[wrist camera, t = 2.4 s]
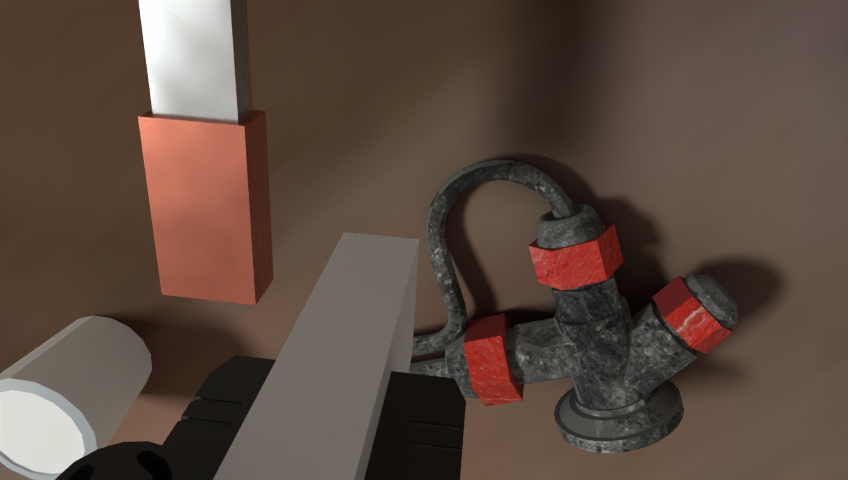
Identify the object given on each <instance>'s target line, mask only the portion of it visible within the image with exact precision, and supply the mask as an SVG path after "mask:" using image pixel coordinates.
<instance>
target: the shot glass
mask: <svg viewBox="0 0 848 480" xmlns="http://www.w3.org/2000/svg"><path fill="white" fill-rule="evenodd" d="M151 371H152V362H151V354H150V352H149V350H148V349H147V347H146V345H145V343H144V341H143V340H142V339H141V338H140V337H139V336H138V335H137V334H136V333H135V332H134V331H133V330H132V329H131V328H130V327H128V326H126V325H124V324H122V323H120V322H118V321H116V320H114V319H112V318H107V317H100V316H89V317H85V318H81V319H78V320H76V321H75V322H73V323H72V324H70V325H69V326H68V327H66V328H65V329H63V330H62V331H60V332H59V333H58V334H56V335H55V336H53V337H52V338H50V339H49V340H48V341H46V342H45V343H43V344H42V345H41V346H39V347H38V348H36V349H35V350H33V351H32V352H31V353H29V354H28V355H26V356H25V357H23V358H22V359H21V360H19V361H18V362H16V363H15V364H13V365H12V366H11V367H9V368H8V369H6V370H5V371H4V372H2V373H1V374H0V462H1V463H3V464H4V465H5V466H6V467H8V468H9V469H11V470H13V471H15V472H18V473H20V474H22V475H24V476H26V477H29V478H31V479H35V480H55V479H56V478H57V477H58V476H59V475H60V474H61V473H62V472H63V471H64V470H66V469H67V468H68V467H69V466H70V465H71V464H72V463H73V462H74V461H76V460H78V459H80V458H82V457H84V456H86V455H88V454H90V453H91V452H93V451H95V450H97V449H100V448H103V447H106V446H107V444H108V442H109V441H110V439H111V438H112V436H113V435H114V433H115V431H116V430H117V428H118V427H119V425H120V424H121V422H122V420H123V419H124V417H125V416H126V414H127V413H128V411H129V409H130V408H131V406H132V405H133V403H134V402H135V400H136V398H137V397H138V395H139V394H140V392H141V391H142V389H143V387H144V386H145V384H146V383H147V381H148V378H149V376H150V374H151Z"/></svg>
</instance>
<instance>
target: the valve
mask: <svg viewBox="0 0 848 480" xmlns="http://www.w3.org/2000/svg"><path fill="white" fill-rule="evenodd" d="M492 180H508V181H513V182H516V183H520V184H523V185H525V186H527V187H529V188H530V189H532V190H534V191H535V192H536V193H538V194H539V195H540V196H541V197H542V198H543V199H544V200H545V201H546V203H547V204H548V205H549V207H550V208H551V210H552V211H550V212H548V213H546V214H544V215H543V216H542V217H541V218H540V219H539V220H538V239H536V240H535V241H534V242H533V243H531V244H530V245H529V250H530V253H531V257H532V260H533V264H534V267H535V271H536V275H537V278H538V282H539V283H542V284H545V285H547V286H550V287H552V293H553V297H554V300H555V304H556V307H557V311H556V313H555V315H554V318H550V319H545V320H540V321H534V322H529V323H524V324H518V325H514V327H513V328H512V326H511V324H510V322H509V320H508V319H507V317H506V315H505V313H504V314H499V315H494V316H489V317H484V318H479V319H474V320H469V323H468V327H467V330H465V331H464V329H465V326H466V321H467V312H466V305H465V302H464V299H463V296H462V292H461V289H460V286H459V283H458V280H457V277H456V273H455V270H454V267H453V264H452V261H451V258H450V254H449V251H448V248H447V244H446V238H445V223H446V219H447V215H448V212H449V210H450V208H451V206H452V204H453V203H454V201H455V200H456V199H457V198H458V197H459V196H460V195H461V194H462V193H463V192H465V191H466V190H468V189H469V188H470V187H472V186H474V185H477V184H479V183H482V182H485V181H492ZM426 242H427V247H428V252H429V255H430V258H431V262H432V265H433V268H434V271H435V274H436V277H437V280H438V283H439V286H440V289H441V292H442V296H443V299H444V302H445V305H446V308H447V311H448V317H449V318H448V323H447V325H446V326H445V327H444V328H443V329H442V330H441V331H438V332H436V333H432V334H427V335H422V336H417V337H413V350H412V356H416V355H421V354H426V353H432V352H437V351H440V350H443V349H445V356H444V357H438V358H433V359H428V360H422V361H417V362H412V363H410V367H409V372H408V373H413V374H422V375H430V376H439V377H448V378H454V379H455V381H456V383H457V385H458V387H459V389H460V391H461V393H462V395H463V397H471V398H479V399H481V400H482V402H483V403H484V404H485V406H491V405H497V404H503V403H509V402H516V401H522V399H523V387H524V384H528V383H536V382H542V381H548V380H554V379H560V378H566V377H571V378H572V381H573V384H574V387H573V388H572V389H570V390H569V391H568V392H566V393H565V394H564V395H563V396H562V397H561V399H560V400H559V402H558V403H557V405H556V408H555V412H554V415H555V420H556V424H557V427H558V431H559V433H560V434H561V436H562V437H563V439H564V440H566V441H567V442H568V443H570V444H571V445H573V446H575V447H577V448H580V449H582V450H586V451H591V452H596V453H618V452H628V451H632V450H636V449H640V448H644V447H646V446H649V445H651V444H654V443H656V442H658V441H660V440H661V439H663V438H664V437H666V436H668V435H669V434H670V433H671V432H672V431H673V430H674V429H675V428H676V427H677V426H678V425H679V423H680V421H681V419H682V418H683V411H684V408H683V404H682V399H681V396H680V392H679V390H678V388H677V387H676V386H675V385H674V384H673V383H672V382H670V381H669V380H667V379H669V378H670V377H672V376H673V375H674V374H676V373H677V372H679V371H680V370H681V369H683V368H684V367H686V366H687V365H688V364H690V363H691V362H693V361H694V360H695V359H697V355H696V352H695V350H698V351H700V352H703V353H707V352H708V351H710V350H711V349H712V348H714V347H715V346H716V345H718V344H719V343H721V342H722V341H723V340H725V339H726V338H727V337H729V336H730V335H731V334H733V333H734V332H733V331H732V329H731V328H730V327H731V326H733V325H734V324H735V323H737V319H738V305H737V303H736V302H735V301H734V299H733V298H732V297H731V296H730V295H729V294H728V292H727V291H726V290H725V289H724V288H723V287H722V286H721V285H720V284H719V283H718V282H717V281H716V280H715V279H714V278H712V277H711V276H710V275H706V274H692V275H690V276H689V277H688V278H687V279H684V278H682V277H680V276H678V277H677V278H675V279H674V280H673V281H672V282H670V283H669V284H668V285H667V286H665V287H664V288H663V289H662V290H661V291H659V292H658V293H657V294H656V295H654V296H653V297H652V298H653V299H654V301H655V303H656V305H657V306H655V305H654V304H652V303H651V302H649V303H648V304H647V305H646V306H644V307H643V308H642V309H641V310H640V311H638V312H637V313H636V314H635V315H634V316H633V317H631V314H630V310H629V306H628V302H627V300H626V298H625V297H623V296H621V295H619V292H618V288H617V284H616V280H615V277H614V272H615V271H616V270H617V268H618V267H619V266H620V265H621V264H622V263H623V262H624V261H623V257H622V253H621V249H620V245H619V241H618V237H617V233H616V229H615V225H614V224H612V223H606V222H602V221H601V220H600V218H599V216H598V214H597V213H596V211H595V209H594V208H593V207H592V206H590V205H587V204H575V205H572V204H571V201H570V199H569V198H568V196H567V195H566V194H565V192H564V191H563V189H562V188H561V186H560V185H559V184H558V183H556V182H555V181H554V180H553V179H552V178H551V177H550V176H549V175H548V174H546V173H544V172H542V171H541V170H539V169H537V168H535V167H534V166H532V165H529V164H525V163H522V162H518V161H515V160H502V159H495V160H488V161H482V162H478V163H475V164H473V165H470V166H468V167H466V168H463V169H462V170H460V171H459V172H458V173H456V174H455V175H453V176H452V177H450V178H449V179H448V181H447V182H446V183H445V184H444V185H443V186H442V187H441V188H440V189H439V191H438V192H437V194H436V196H435V198H434V200H433V201H432V203H431V205H430V208H429V212H428V216H427V219H426ZM694 349H695V350H694Z"/></svg>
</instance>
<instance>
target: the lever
mask: <svg viewBox="0 0 848 480" xmlns="http://www.w3.org/2000/svg"><path fill="white" fill-rule="evenodd" d="M139 5H140V13H141V21H142V29H143V37H144V46H145V54H146V62H147V70H148V78H149V86H150V94H151V102H152V110H151V111H149V112H146V113H144V114H142V115H140V116H138V119H139V127H140V134H141V142H142V149H143V157H144V164H145V172H146V179H147V186H148V194H149V201H150V209H151V216H152V224H153V231H154V239H155V246H156V254H157V261H158V269H159V276H160V284H161V291H162V295H171V296H180V297H188V298H197V299H206V300H215V301H224V302H232V303H241V304H250V305H256V304H257V302H258V301H259V299H260V298H261V297H262V295H263V294H264V292H265V291H266V289H267V288H268V286H269V285H270V283H271V282H272V281H273V258H272V237H271V216H270V195H269V174H268V153H267V133H266V112H265V111H259V110H253V108H252V90H251V72H250V55H249V37H248V19H247V2H246V0H139Z"/></svg>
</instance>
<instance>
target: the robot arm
mask: <svg viewBox="0 0 848 480" xmlns="http://www.w3.org/2000/svg"><path fill="white" fill-rule="evenodd" d="M418 249H419V239H409V238H399V237H389V236H379V235H369V234H358V233H348V232H344V233H343V235H342V237H341V239H340V241H339V243H338V244H337V246H336V248H335V250H334V252H333V254H332V256H331V258H330V260H329V261H328V263H327V265H326V267H325V269H324V271H323V273H322V275H321V277H320V278H319V280H318V282H317V284H316V286H315V288H314V290H313V292H312V294H311V295H310V297H309V299H308V301H307V303H306V305H305V307H304V309H303V311H302V312H301V314H300V316H299V318H298V320H297V322H296V324H295V326H294V328H293V329H292V331H291V333H290V335H289V337H288V339H287V341H286V343H285V345H284V346H283V348H282V350H281V352H280V354H279V356H278V358H277V360H271V359H263V358H254V357H245V356H236V355H235V356H234V357H232V358H231V359H230V360H228V361H227V362H225V363H224V364H223V365H221V366H220V367H218V368H217V369H215V370H214V371H213V372H211V373H210V374H209V375H208V377H207V378H206V380H205V381H204V383H203V384H202V386H201V387H200V389H199V390H198V392H197V393H196V395H195V396H194V401H191V402H190V404H189V405H188V407H187V408H186V410H185V411H184V413H183V414H182V416H181V421H178V422H177V424H176V425H175V427H174V428H173V430H172V431H171V433H170V434H169V436H168V437H167V439H166V440H165V442H164V443H163V445H158V444H155V443H152V442H148V441H145V442H122V443H118V444H114V445H111V446H107V447H103V448H100V449H97V450H95V451H93V452H91V453H90V454H88V455H86V456H84V457H82V458H80V459H78V460H76V461H74V462H73V463H72V464H71V465H70V466H69V467H68V468H67V469H66V470H64V471H63V472H62V473H61V474H60V475H59V476H58V477H57V478H56V479H55V480H460V471H461V458H462V445H463V431H464V419H465V406H466V401H465V399H464V397H463V395H462V393H461V391H460V389H459V387H458V385H457V383H456V381H455V379H454V378H448V377H439V376H430V375H422V374H413V373H408V372H409V367H410V362H411V357H412V350H413V333H414V316H415V300H416V283H417V266H418Z"/></svg>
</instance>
